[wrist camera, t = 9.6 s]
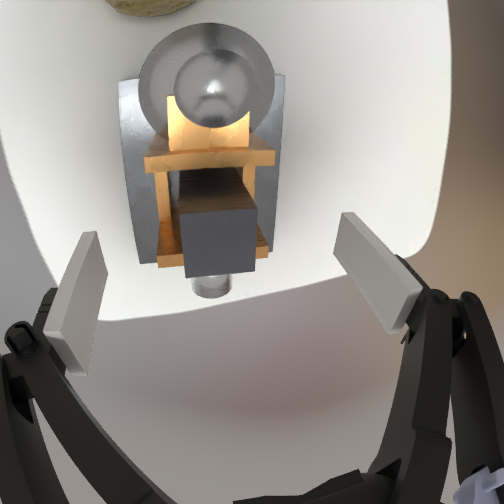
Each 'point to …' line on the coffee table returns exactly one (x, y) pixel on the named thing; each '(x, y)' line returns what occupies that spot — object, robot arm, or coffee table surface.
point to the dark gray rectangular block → (216, 222)
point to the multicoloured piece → (200, 135)
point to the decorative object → (148, 6)
